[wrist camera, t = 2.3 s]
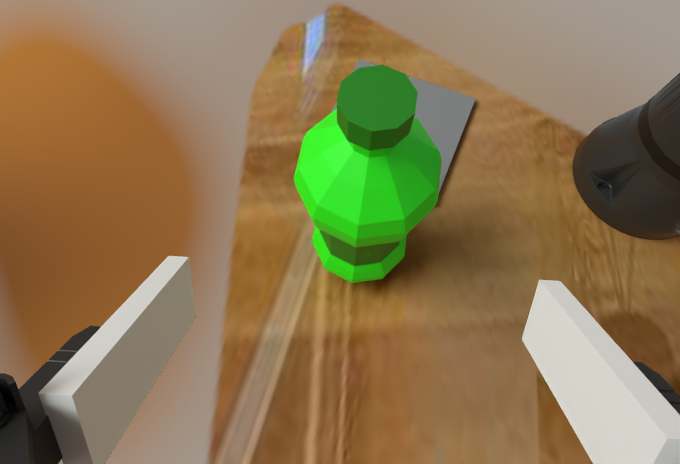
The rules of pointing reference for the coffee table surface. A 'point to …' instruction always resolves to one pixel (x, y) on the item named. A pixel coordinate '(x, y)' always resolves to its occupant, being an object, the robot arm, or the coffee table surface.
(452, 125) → the rubber coaster
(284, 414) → the coffee table surface
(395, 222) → the plastic bottle
